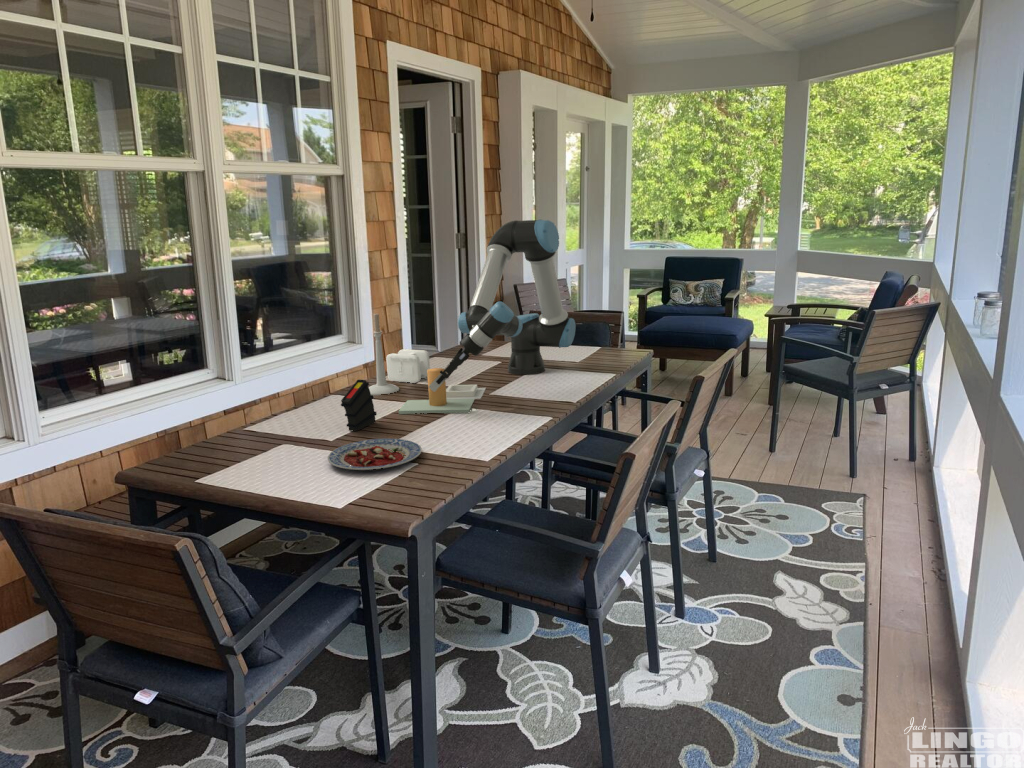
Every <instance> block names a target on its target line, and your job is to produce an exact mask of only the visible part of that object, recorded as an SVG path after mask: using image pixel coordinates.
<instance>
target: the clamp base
mask: <svg viewBox="0 0 1024 768" xmlns="http://www.w3.org/2000/svg"><path fill="white" fill-rule="evenodd" d="M486 388H487V387H478V384H449V385H448V387H446V399H475V400H476V399H477V400H482V397H483V395H484V393H485V391H486Z"/></svg>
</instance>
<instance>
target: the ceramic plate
mask: <svg viewBox="0 0 1024 768" xmlns="http://www.w3.org/2000/svg"><path fill="white" fill-rule="evenodd" d="M388 449H390V450H392V451H390V450H388ZM422 450H423V449H422V447H421V445H419V443H416V442H414V441H411V440H408V439H401V438H388V437H387V438H373V439H366V440H360V441H354V442H351V443H348V444H344V445H342V446H339V447H337V448H335V449H334V450H332V451H331V452H330V453H329V454H328V456H327V461H328V463H329V464H330V465H331V466H334V467H337V468H341V469H344V470H353V471H354V470H356V471H374V470H373V469H376V470H382V469H381V468H383V469H387V468H393V467H396V466H397V467H398V466H401V465H403V464H406V463H408V462H411V461H413V460H415V459H416V458H418V457H419V456H420V454H422ZM393 451H394V452H393ZM396 451H401V452H403V453H404V454H405V455H406V456H404V457H405V458H404V457H403V455H402V454H401V453H399V452H396ZM403 458H404V459H403ZM350 465H351V466H350Z"/></svg>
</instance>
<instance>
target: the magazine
mask: <svg viewBox="0 0 1024 768" xmlns="http://www.w3.org/2000/svg"><path fill="white" fill-rule="evenodd" d="M369 387H370V383H369V382H368V381H366V379H357V380H356V381H355V382H354V384H353V385H352V386H351V387H350V388H349V390H348V391H347V392H346V393H345V395H344V396H343V398H342V399H341V400H340V402H341V403H340V406H341V407H343V408H344V410H345V414H344V416H345V417H346V418H347V424H346V427H347V428H348V431H349V430H353V431H352V432H358V431H357V430H359V429H361V430H362V428H363V429H365V428H367V427H369V426H371V425H373V424H375V423H376V422H377V421H376V416H377V411H375V406H374V402H373V400H374V395H371V393H370V390H369ZM374 422H375V423H374ZM372 423H373V424H372ZM370 424H371V425H370ZM368 425H369V426H368ZM366 426H367V427H366ZM364 427H365V428H364ZM359 431H360V430H359Z"/></svg>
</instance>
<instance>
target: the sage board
mask: <svg viewBox="0 0 1024 768" xmlns="http://www.w3.org/2000/svg"><path fill="white" fill-rule="evenodd" d="M475 400H476V399H447V404H446V405H443V406H431V405H429V399H407V400H406V401H405V402H404V404H403V405H402V406H401V407H400V409H398V415H428V414H427V413H444V414H469V413H468V412H470V413H471V411H472V409H473V408H472V406H473V404H474V402H475ZM470 410H471V411H470ZM415 413H417V414H415ZM420 413H422V414H420ZM423 413H424V414H423Z"/></svg>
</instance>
